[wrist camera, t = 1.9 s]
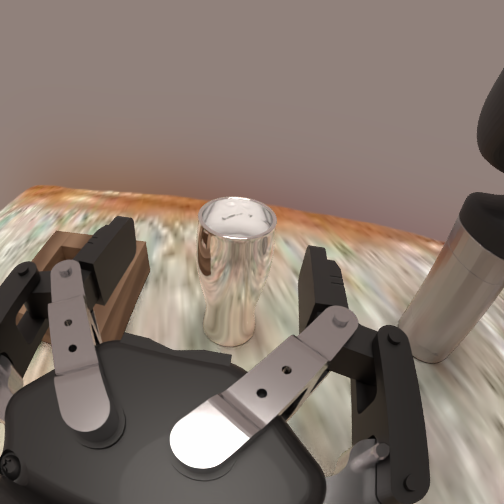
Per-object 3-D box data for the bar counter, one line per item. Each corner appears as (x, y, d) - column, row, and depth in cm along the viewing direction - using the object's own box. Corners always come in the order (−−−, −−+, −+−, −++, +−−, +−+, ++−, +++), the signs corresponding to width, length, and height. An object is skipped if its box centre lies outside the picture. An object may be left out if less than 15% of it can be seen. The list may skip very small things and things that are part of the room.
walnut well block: (150, 270, 39) (145, 241, 36) (112, 362, 28) (99, 336, 25) (64, 257, 39) (56, 230, 36) (17, 331, 28) (0, 305, 24)
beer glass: (196, 348, 31) (189, 237, 22) (201, 301, 36) (201, 192, 27) (259, 351, 32) (283, 243, 22) (257, 304, 37) (275, 198, 28)
